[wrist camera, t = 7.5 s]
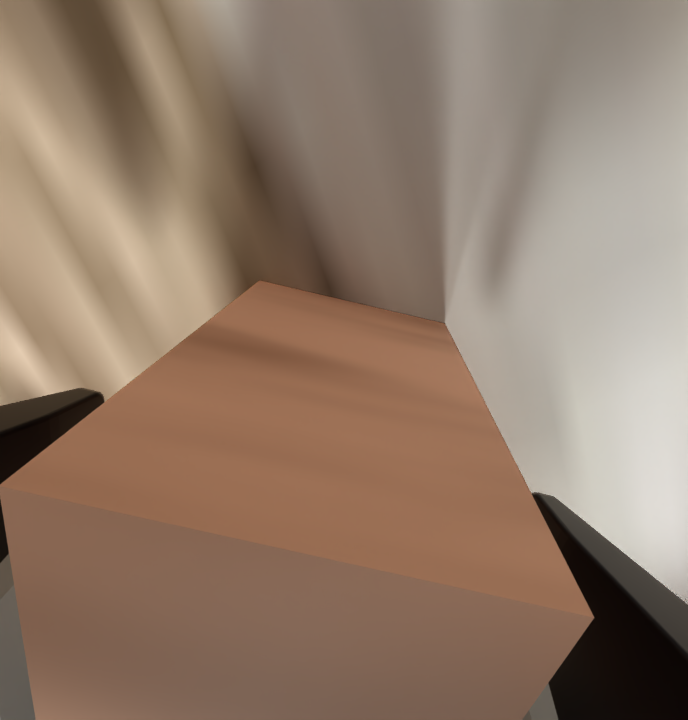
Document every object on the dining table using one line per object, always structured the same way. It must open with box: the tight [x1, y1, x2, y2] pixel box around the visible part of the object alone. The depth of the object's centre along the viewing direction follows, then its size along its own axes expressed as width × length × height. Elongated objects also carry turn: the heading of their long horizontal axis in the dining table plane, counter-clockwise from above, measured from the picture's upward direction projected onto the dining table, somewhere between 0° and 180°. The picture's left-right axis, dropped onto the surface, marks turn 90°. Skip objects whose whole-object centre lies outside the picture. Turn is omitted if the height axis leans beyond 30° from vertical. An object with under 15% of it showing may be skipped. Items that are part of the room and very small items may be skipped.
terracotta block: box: [0, 280, 594, 720], centre depth 8 cm, size 5×5×8 cm
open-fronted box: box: [0, 554, 558, 720], centre depth 15 cm, size 11×17×4 cm, turn 78°
